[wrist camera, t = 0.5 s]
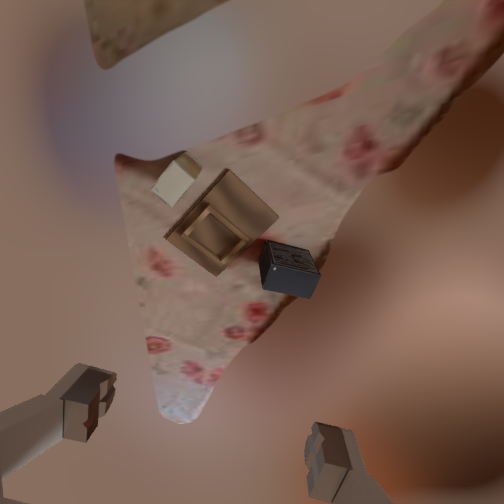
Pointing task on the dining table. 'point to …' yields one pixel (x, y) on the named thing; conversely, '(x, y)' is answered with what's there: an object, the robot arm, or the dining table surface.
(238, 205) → the wooden board with frame
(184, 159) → the skincare box
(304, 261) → the small box
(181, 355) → the dining table surface
